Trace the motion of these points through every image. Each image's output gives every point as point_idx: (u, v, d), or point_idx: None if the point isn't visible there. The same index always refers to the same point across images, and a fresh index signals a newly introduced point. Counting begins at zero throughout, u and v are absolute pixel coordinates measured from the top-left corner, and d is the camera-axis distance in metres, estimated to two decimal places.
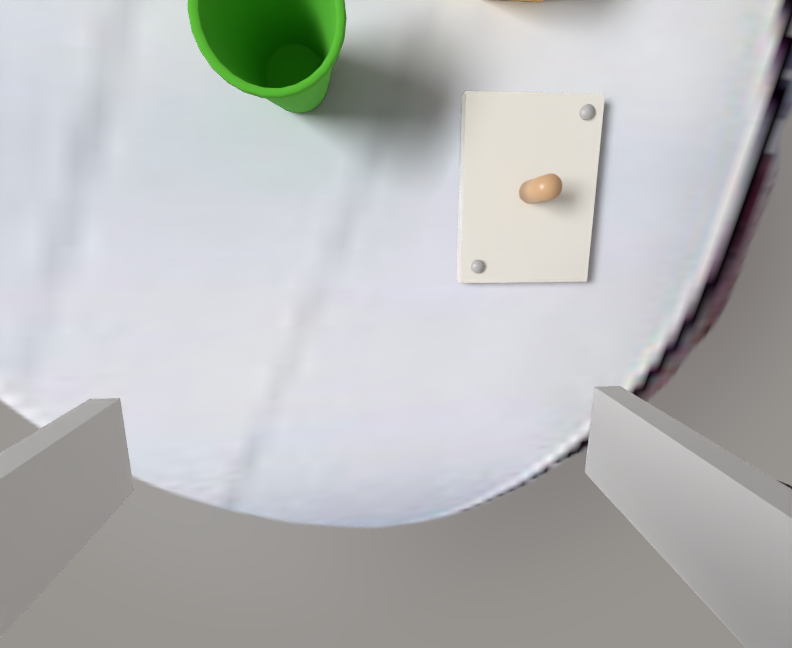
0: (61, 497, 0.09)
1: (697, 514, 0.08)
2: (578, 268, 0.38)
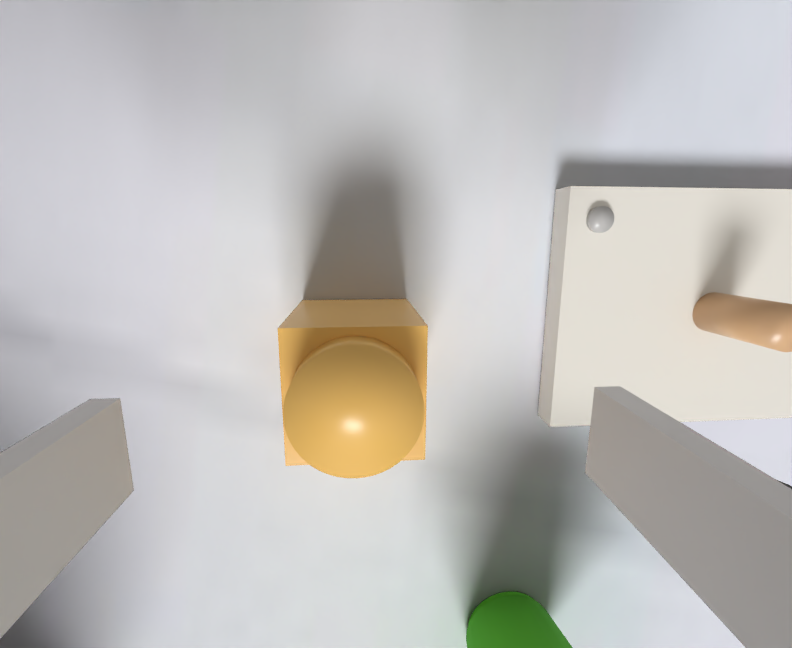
0: (61, 497, 0.09)
1: (697, 514, 0.08)
2: None
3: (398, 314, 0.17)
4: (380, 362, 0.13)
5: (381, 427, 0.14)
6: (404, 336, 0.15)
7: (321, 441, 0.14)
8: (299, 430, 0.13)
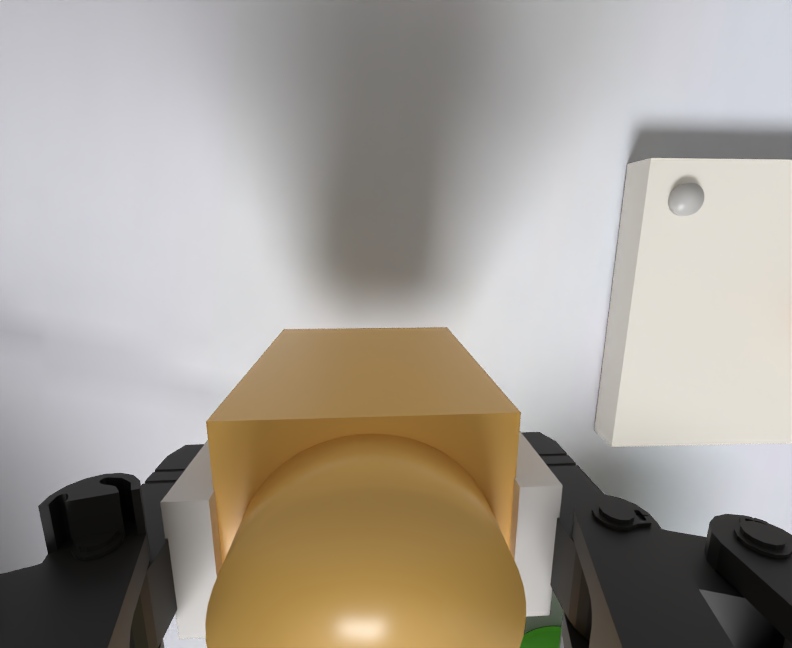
0: None
1: None
2: None
3: (447, 370, 0.09)
4: (431, 521, 0.06)
5: None
6: (472, 434, 0.07)
7: None
8: None
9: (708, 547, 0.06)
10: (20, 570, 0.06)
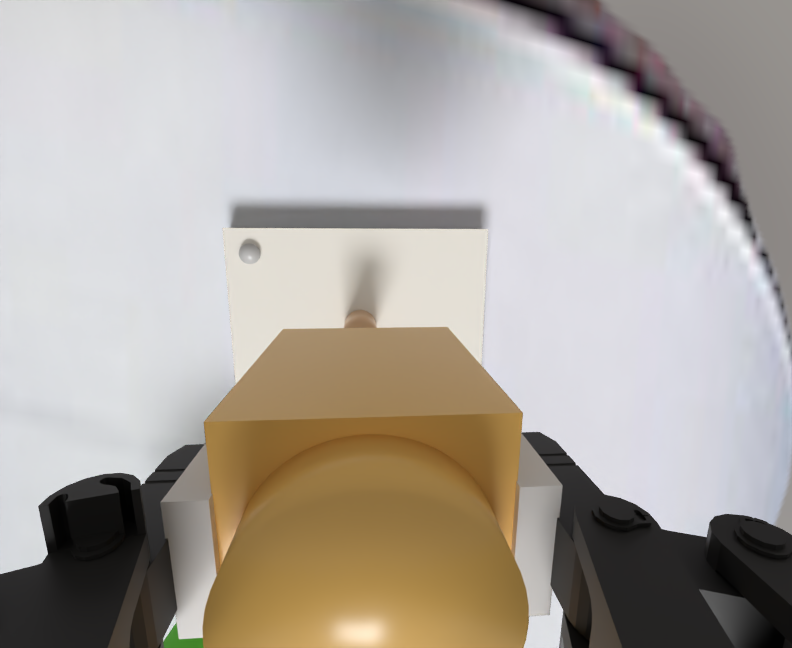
0: None
1: None
2: (467, 245, 0.26)
3: (448, 370, 0.09)
4: (432, 523, 0.06)
5: None
6: (473, 434, 0.07)
7: None
8: None
9: (708, 547, 0.06)
10: (19, 570, 0.06)
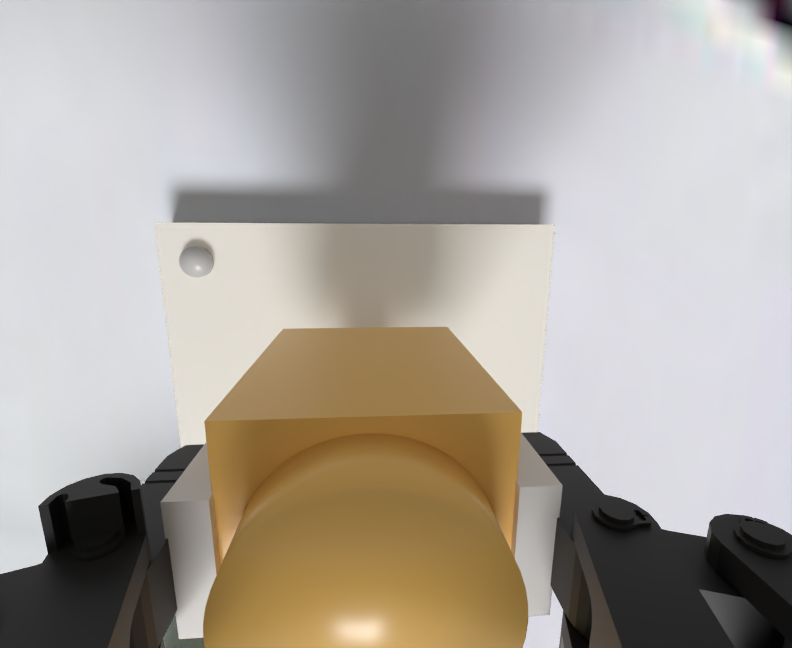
0: None
1: None
2: (523, 248, 0.17)
3: (447, 369, 0.09)
4: (432, 521, 0.06)
5: None
6: (473, 434, 0.07)
7: None
8: None
9: (708, 547, 0.06)
10: (20, 570, 0.06)
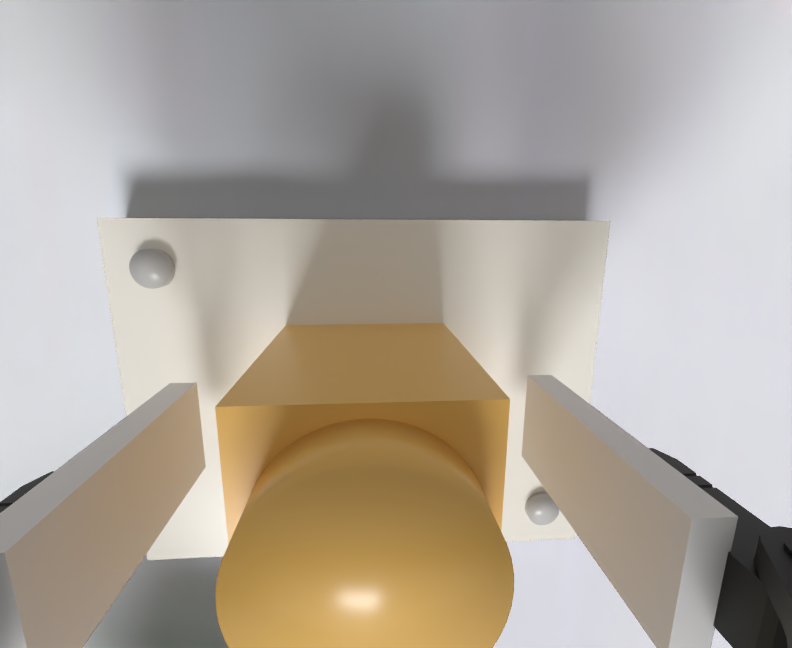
0: (161, 466, 0.10)
1: (593, 485, 0.09)
2: (570, 251, 0.14)
3: (442, 362, 0.10)
4: (425, 496, 0.06)
5: (423, 621, 0.07)
6: (464, 419, 0.07)
7: None
8: (252, 632, 0.06)
9: None
10: None
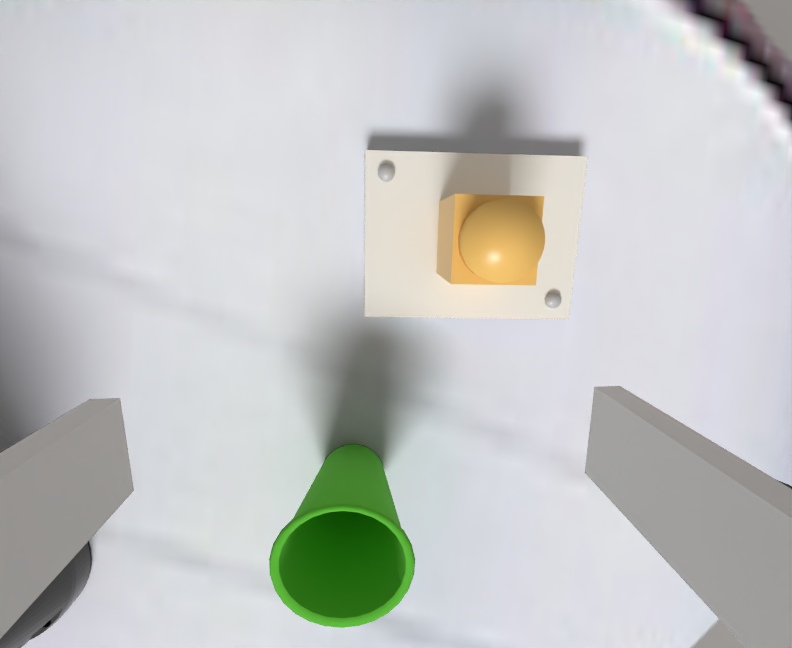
0: (61, 497, 0.09)
1: (697, 514, 0.08)
2: (569, 170, 0.30)
3: None
4: (522, 209, 0.22)
5: (518, 250, 0.23)
6: (529, 202, 0.24)
7: (483, 257, 0.23)
8: (471, 249, 0.23)
9: None
10: None
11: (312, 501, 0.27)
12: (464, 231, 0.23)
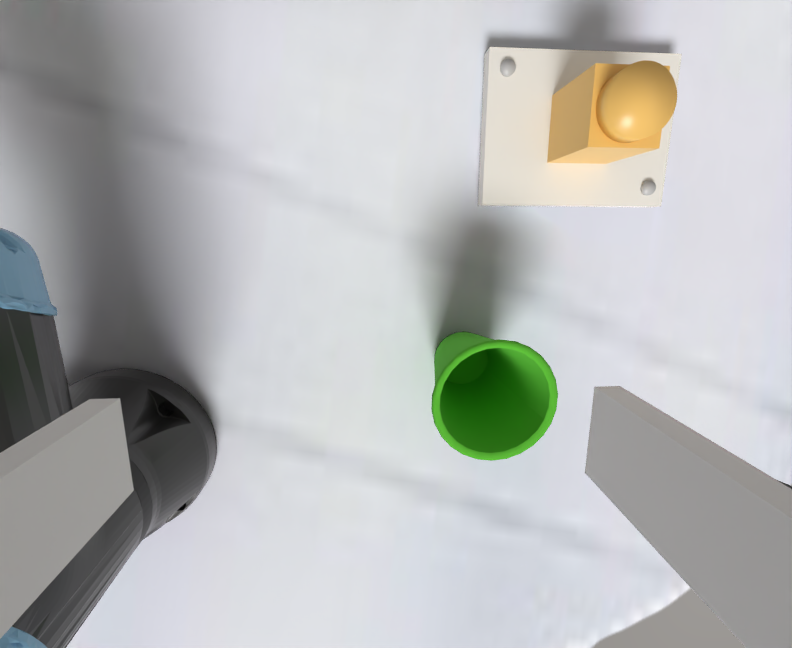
0: (61, 497, 0.09)
1: (697, 514, 0.08)
2: None
3: None
4: (659, 70, 0.26)
5: (654, 108, 0.27)
6: None
7: (624, 114, 0.27)
8: (615, 107, 0.27)
9: None
10: None
11: (462, 350, 0.30)
12: (609, 91, 0.26)
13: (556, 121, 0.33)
